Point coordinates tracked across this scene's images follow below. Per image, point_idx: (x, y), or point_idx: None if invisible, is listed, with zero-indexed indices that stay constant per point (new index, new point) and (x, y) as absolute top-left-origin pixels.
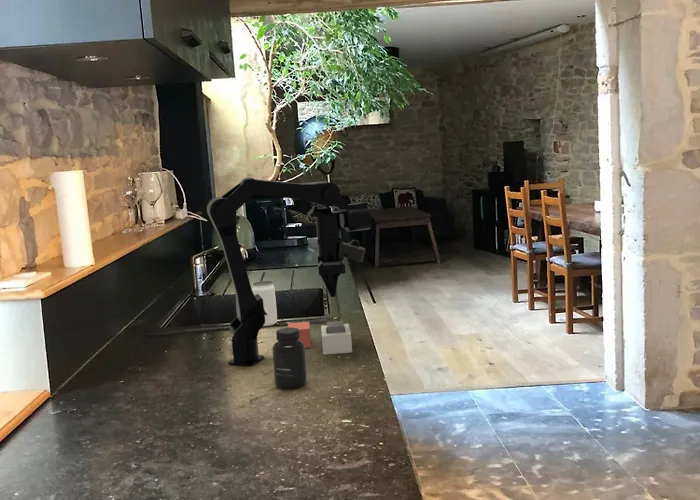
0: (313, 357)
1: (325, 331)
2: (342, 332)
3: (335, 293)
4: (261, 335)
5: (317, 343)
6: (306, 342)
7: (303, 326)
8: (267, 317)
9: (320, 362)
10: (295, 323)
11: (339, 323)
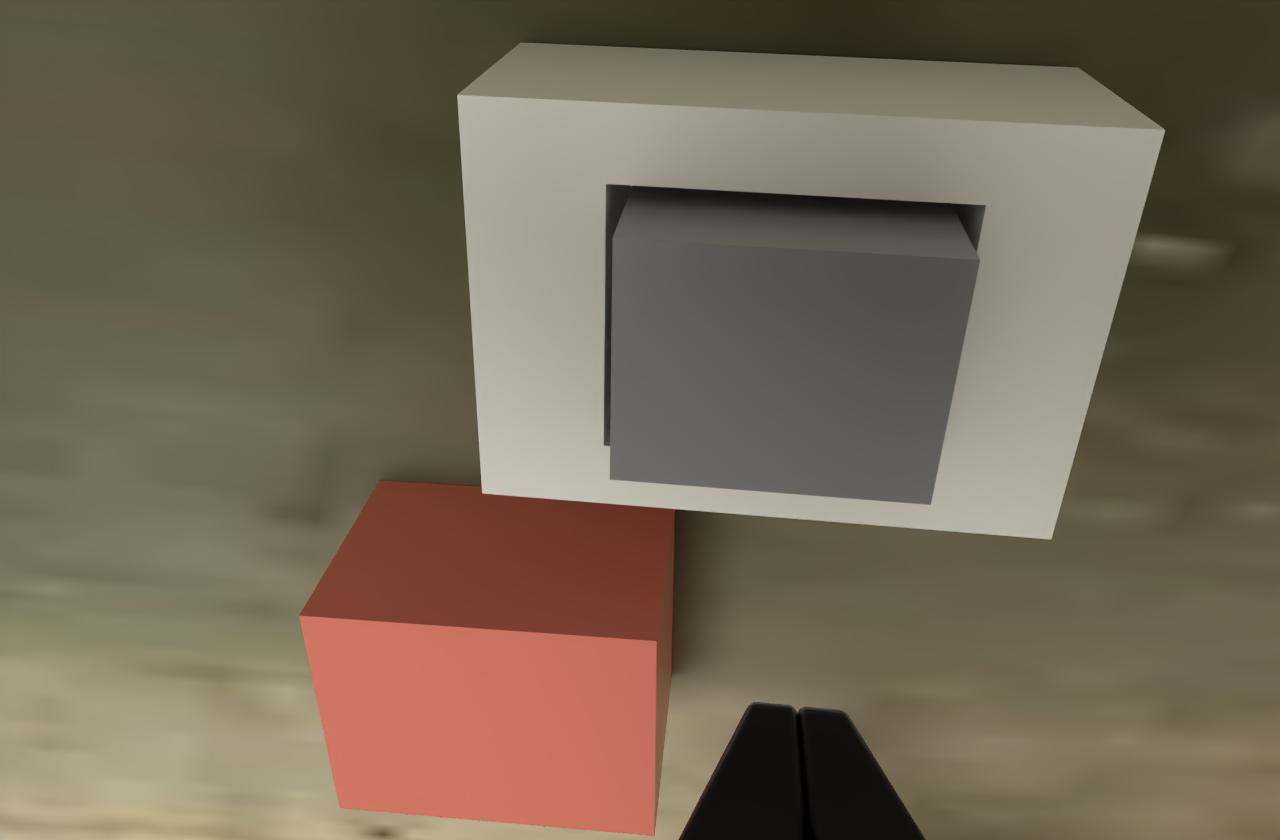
0: None
1: None
2: (983, 254)
3: (887, 780)
4: (175, 822)
5: None
6: (669, 574)
7: (519, 690)
8: None
9: (1266, 462)
10: (361, 748)
11: (779, 311)
